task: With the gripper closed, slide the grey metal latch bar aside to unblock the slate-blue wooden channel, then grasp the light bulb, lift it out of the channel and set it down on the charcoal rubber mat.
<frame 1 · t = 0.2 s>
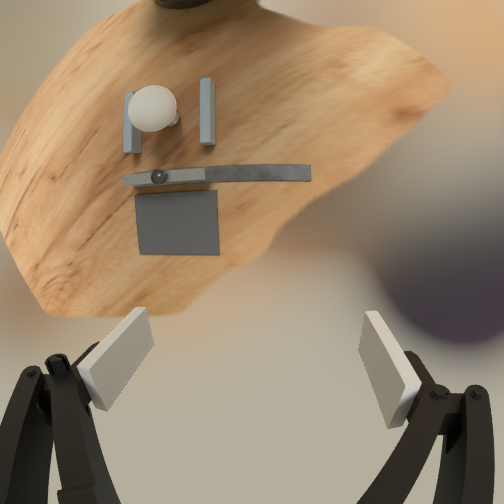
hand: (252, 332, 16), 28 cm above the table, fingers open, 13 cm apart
channel: (172, 118, 39), on the table
latch bar: (165, 176, 38), point 3 cm above the table, slide at 0.0 cm
mat: (175, 223, 43), on the table
track: (216, 173, 40), on the table
light bulb: (172, 118, 39), on the table
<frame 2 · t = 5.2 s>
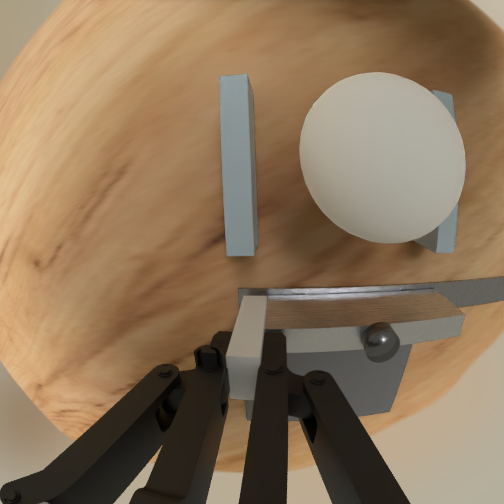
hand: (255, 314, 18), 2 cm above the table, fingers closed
channel: (341, 164, 17), on the table
latch bar: (369, 322, 16), point 3 cm above the table, slide at 1.6 cm, touching gripper
mat: (327, 380, 21), on the table
track: (420, 297, 18), on the table
light bulb: (340, 165, 17), on the table
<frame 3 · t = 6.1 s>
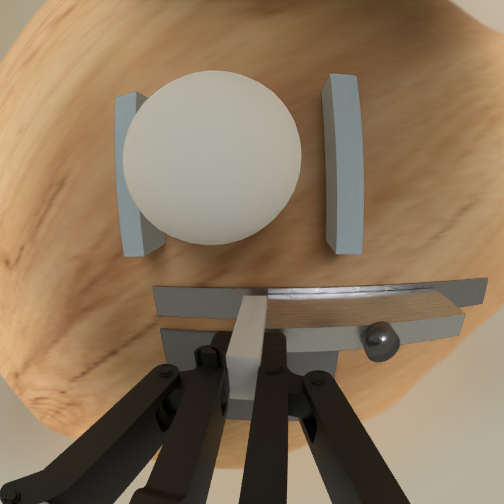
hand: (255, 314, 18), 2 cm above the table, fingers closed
channel: (239, 165, 17), on the table
latch bar: (369, 322, 16), point 3 cm above the table, slide at 8.1 cm, touching gripper
mat: (250, 381, 22), on the table
track: (343, 301, 19), on the table
light bulb: (240, 165, 17), on the table
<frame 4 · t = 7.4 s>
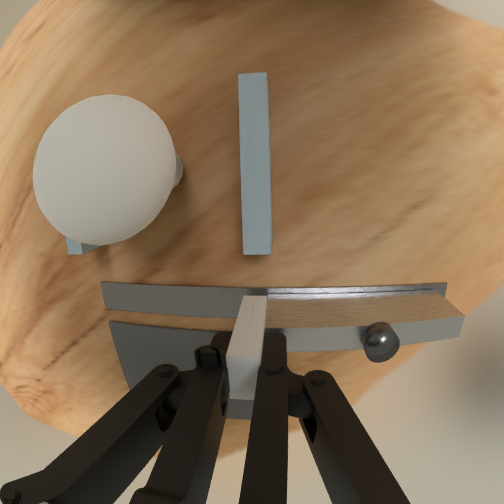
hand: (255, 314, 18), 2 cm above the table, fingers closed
channel: (167, 169, 18), on the table
latch bar: (369, 322, 16), point 3 cm above the table, slide at 13.2 cm, touching gripper
mat: (191, 376, 22), on the table
track: (272, 302, 20), on the table
light bulb: (168, 169, 18), on the table
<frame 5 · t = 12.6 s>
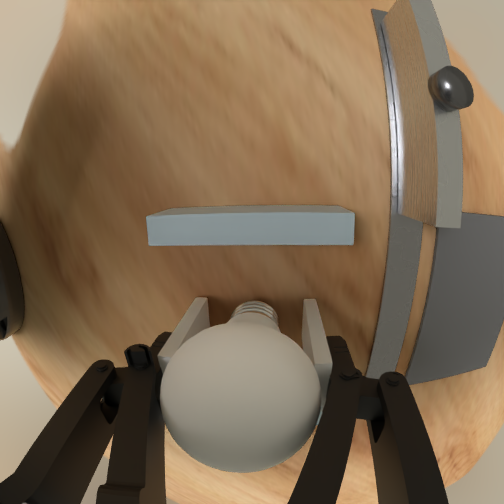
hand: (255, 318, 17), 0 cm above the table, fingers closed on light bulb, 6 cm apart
channel: (255, 315, 18), on the table
latch bar: (428, 99, 10), point 3 cm above the table, slide at 13.2 cm
mat: (472, 304, 16), on the table
track: (406, 208, 15), on the table
light bulb: (255, 313, 18), on the table, touching gripper
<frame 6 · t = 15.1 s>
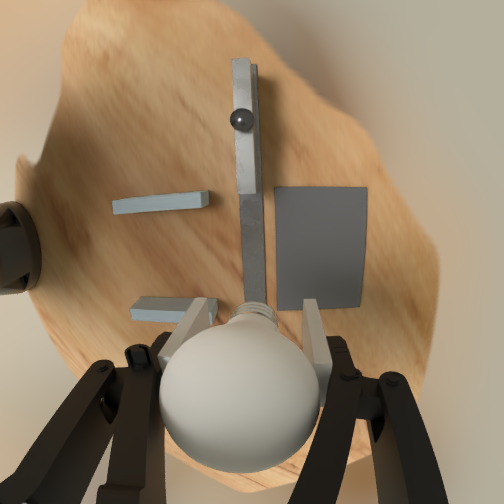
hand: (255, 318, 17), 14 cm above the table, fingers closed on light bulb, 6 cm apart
channel: (171, 254, 31), on the table
latch bar: (245, 125, 24), point 3 cm above the table, slide at 13.2 cm
mat: (321, 250, 30), on the table
track: (250, 188, 29), on the table
light bulb: (255, 314, 18), point 13 cm above the table, touching gripper
when the fingers open (2 cm above the table, at t = 17.9 s): light bulb drops 2 cm, resting on mat.
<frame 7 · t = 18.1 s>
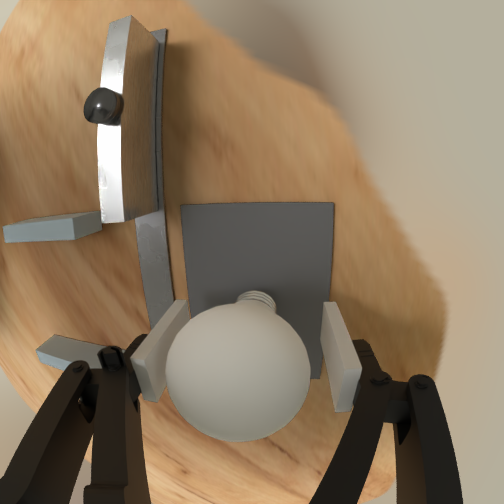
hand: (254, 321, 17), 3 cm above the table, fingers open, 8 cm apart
channel: (71, 291, 21), on the table
latch bar: (124, 113, 14), point 3 cm above the table, slide at 13.2 cm
mat: (257, 302, 20), on the table
track: (149, 206, 19), on the table
light bulb: (256, 303, 19), resting on mat
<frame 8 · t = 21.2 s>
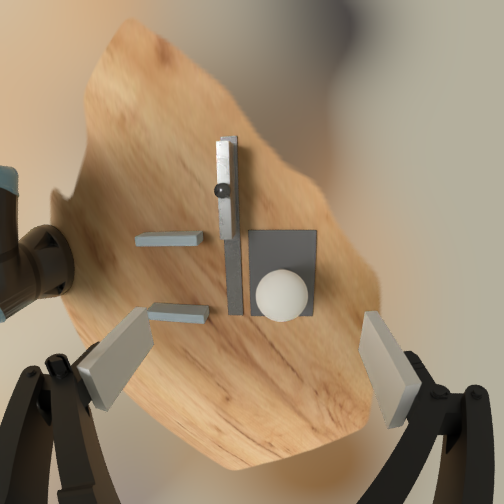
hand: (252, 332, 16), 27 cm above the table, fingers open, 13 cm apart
channel: (176, 273, 44), on the table
latch bar: (226, 189, 37), point 3 cm above the table, slide at 13.2 cm
mat: (282, 275, 43), on the table
track: (231, 230, 42), on the table
light bulb: (281, 275, 43), resting on mat
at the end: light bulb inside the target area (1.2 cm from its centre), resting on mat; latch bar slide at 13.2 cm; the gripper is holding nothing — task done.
